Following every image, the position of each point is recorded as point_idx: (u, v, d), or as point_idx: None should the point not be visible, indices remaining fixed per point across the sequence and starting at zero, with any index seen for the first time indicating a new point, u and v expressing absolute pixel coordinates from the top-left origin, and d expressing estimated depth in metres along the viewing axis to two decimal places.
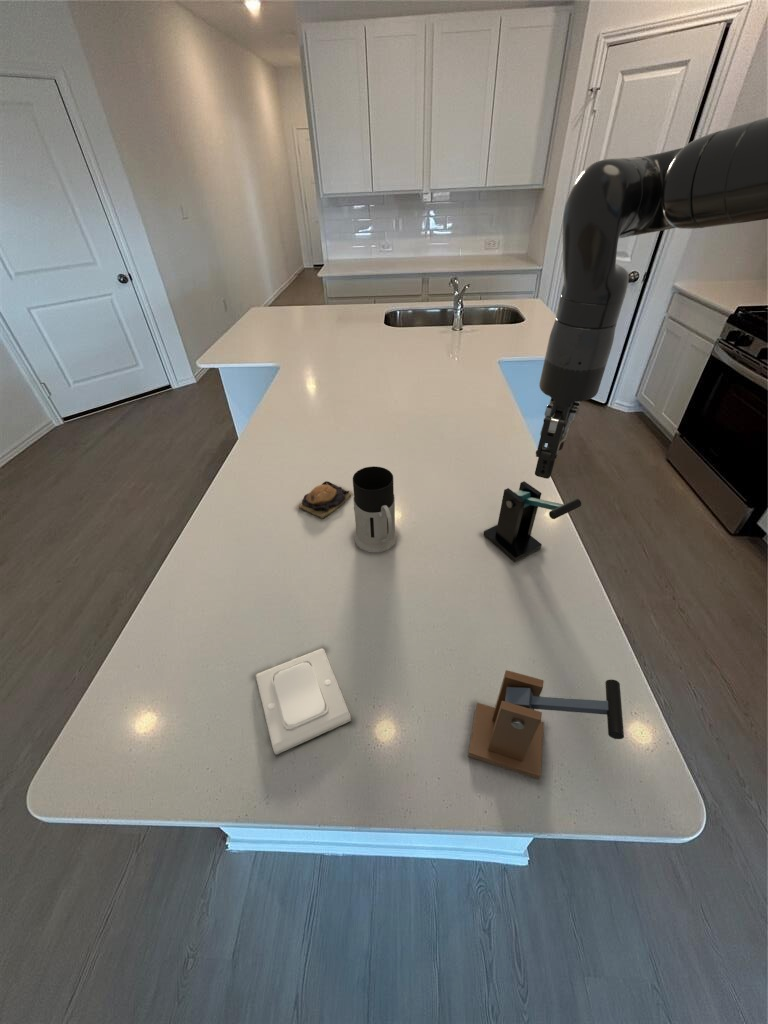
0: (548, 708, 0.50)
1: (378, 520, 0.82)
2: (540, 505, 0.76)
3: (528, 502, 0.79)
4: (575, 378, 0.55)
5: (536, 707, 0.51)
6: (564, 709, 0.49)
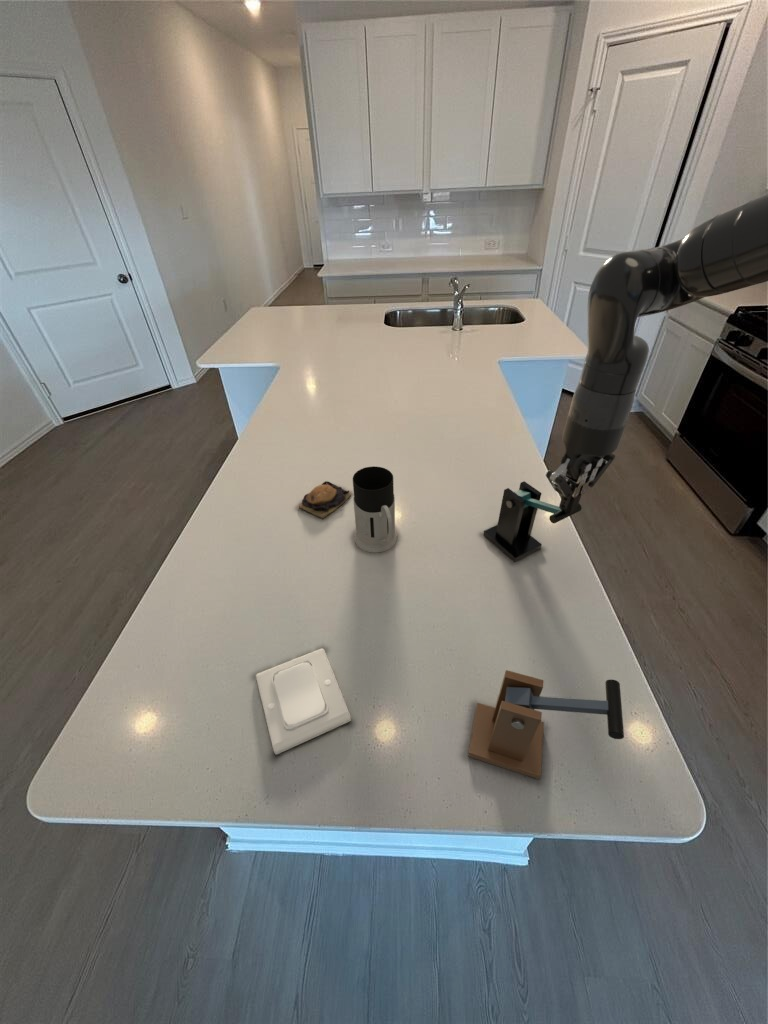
0: (548, 708, 0.50)
1: (378, 520, 0.82)
2: (540, 507, 0.76)
3: (528, 503, 0.79)
4: (582, 433, 0.60)
5: (536, 707, 0.51)
6: (564, 709, 0.49)
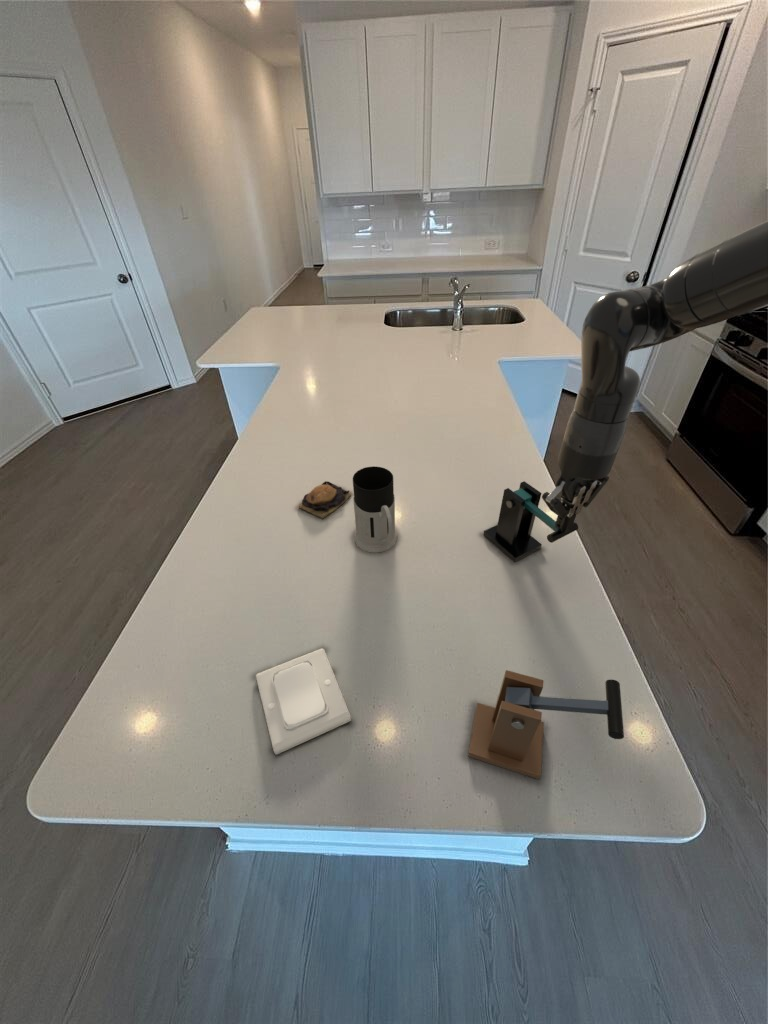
0: (548, 708, 0.50)
1: (378, 520, 0.82)
2: (539, 517, 0.78)
3: (528, 507, 0.79)
4: (576, 458, 0.62)
5: (536, 707, 0.51)
6: (564, 709, 0.49)
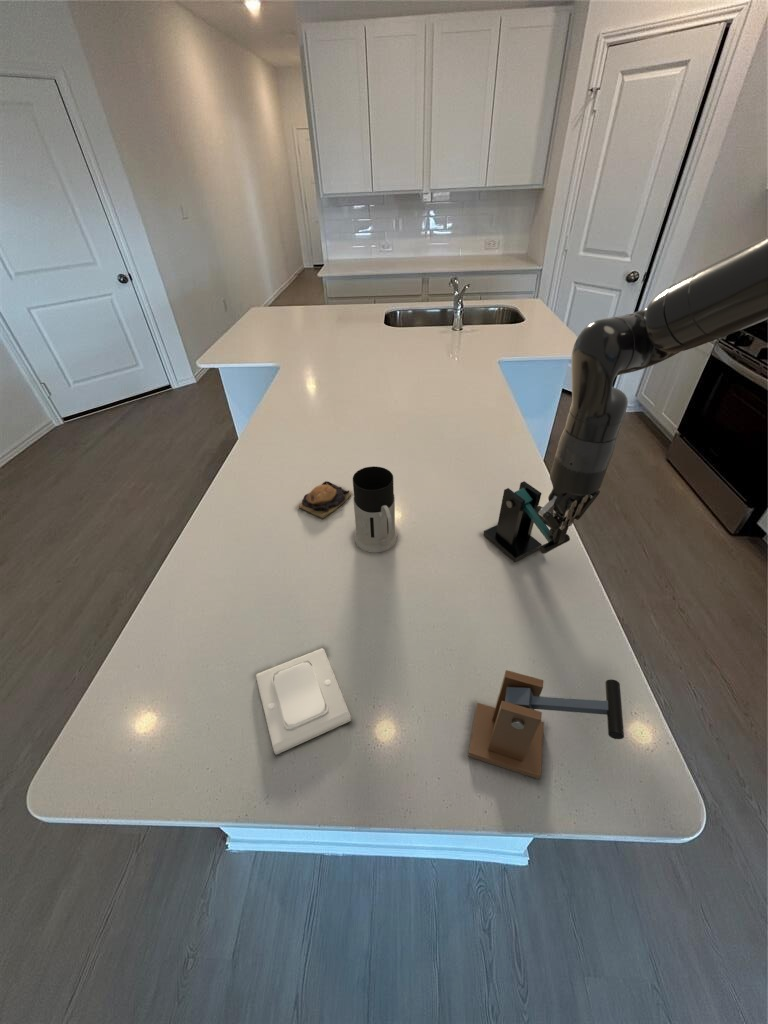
0: (548, 708, 0.50)
1: (378, 520, 0.82)
2: (535, 522, 0.79)
3: (526, 510, 0.80)
4: (567, 474, 0.65)
5: (536, 707, 0.51)
6: (564, 709, 0.49)
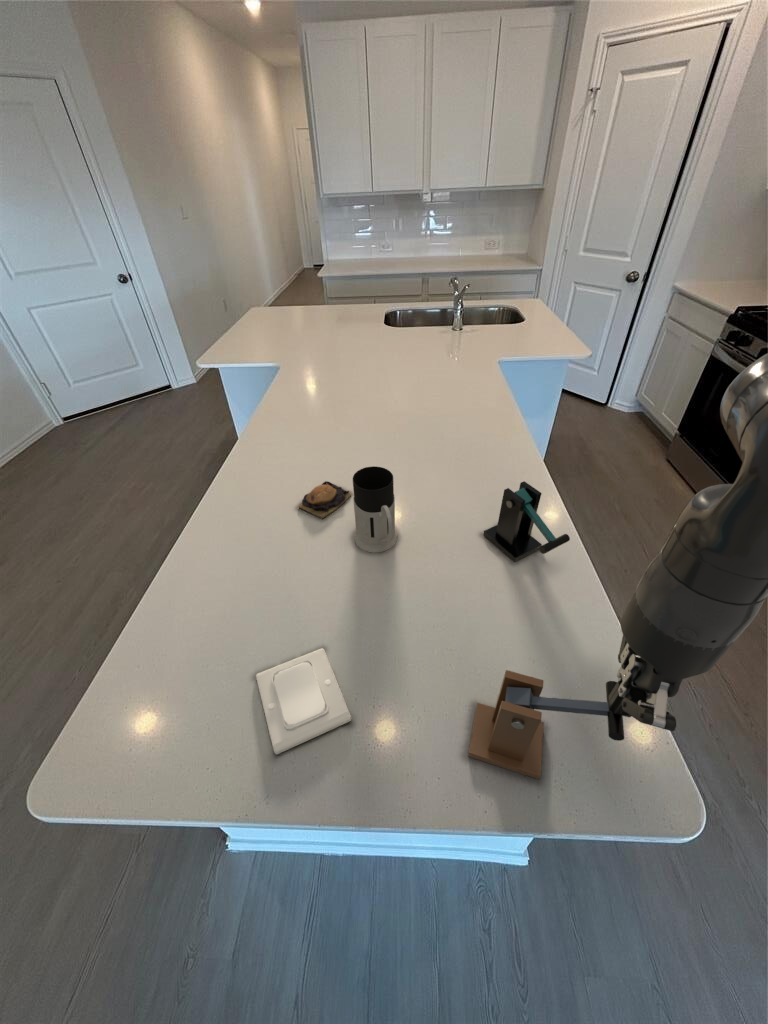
0: (548, 708, 0.50)
1: (378, 520, 0.82)
2: (535, 522, 0.79)
3: (526, 510, 0.80)
4: (700, 654, 0.34)
5: (536, 707, 0.51)
6: (564, 709, 0.49)
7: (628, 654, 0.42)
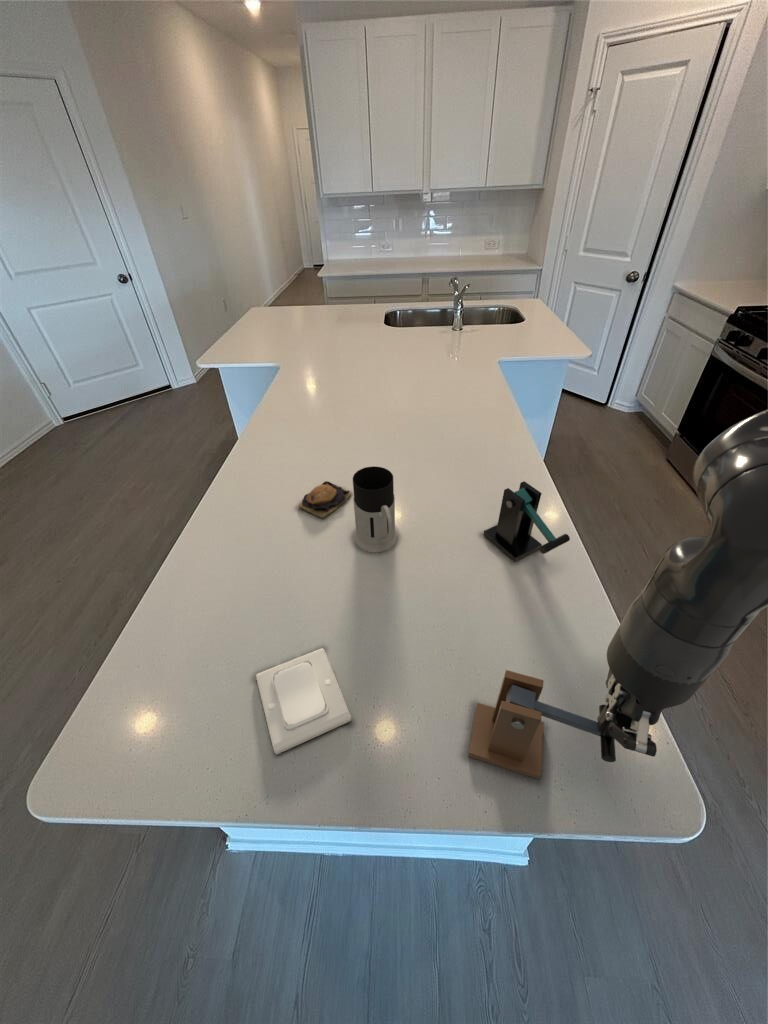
0: (547, 716, 0.51)
1: (378, 520, 0.82)
2: (535, 522, 0.79)
3: (526, 510, 0.80)
4: (677, 688, 0.37)
5: None
6: (562, 720, 0.51)
7: (614, 682, 0.45)
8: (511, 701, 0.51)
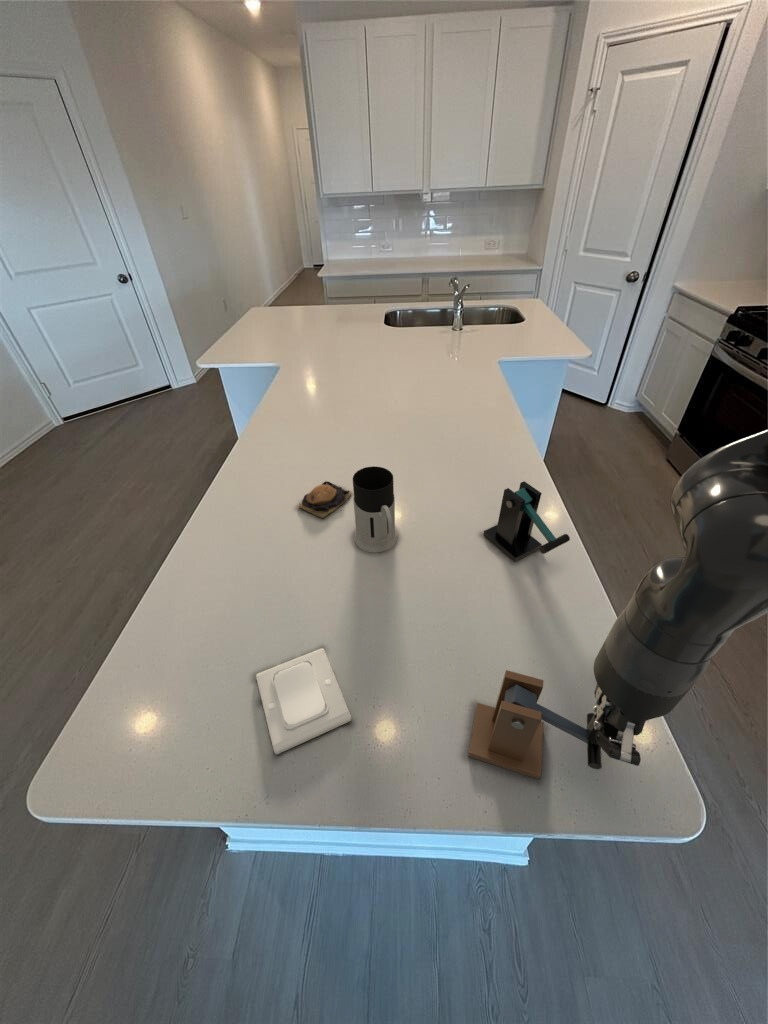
0: (543, 718, 0.52)
1: (378, 520, 0.82)
2: (535, 522, 0.79)
3: (526, 510, 0.80)
4: (659, 701, 0.39)
5: None
6: (556, 725, 0.52)
7: (602, 693, 0.47)
8: (515, 701, 0.50)
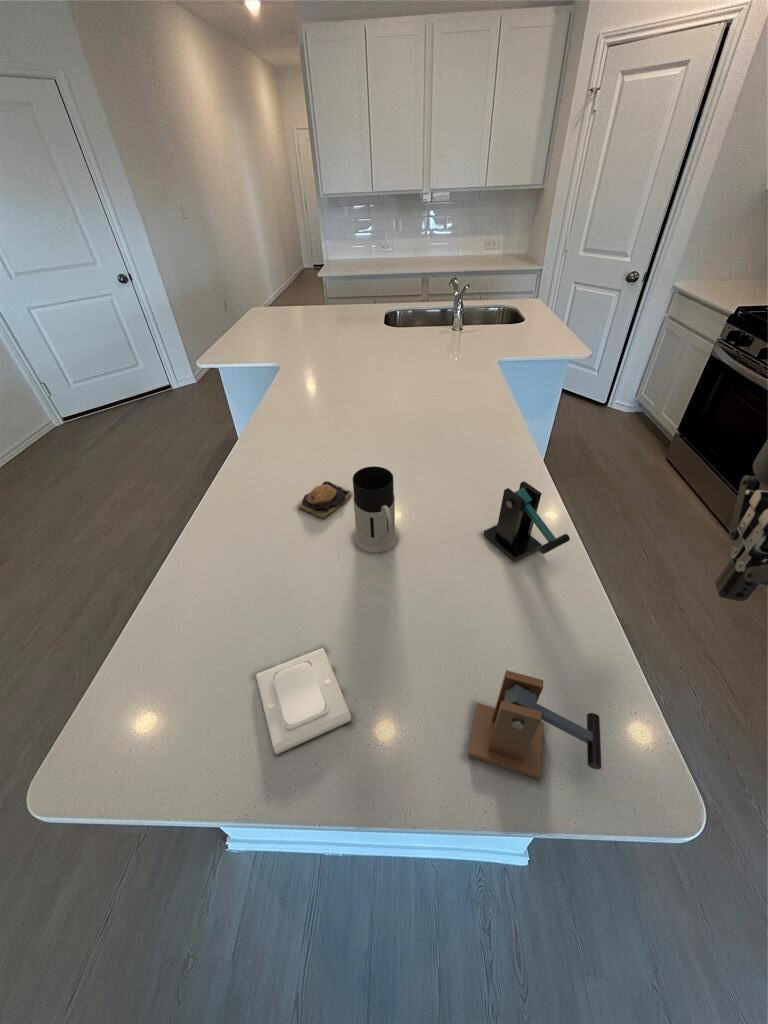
0: (543, 718, 0.52)
1: (378, 520, 0.82)
2: (535, 522, 0.79)
3: (526, 510, 0.80)
4: None
5: None
6: (556, 725, 0.52)
7: (753, 518, 0.36)
8: (515, 701, 0.50)
